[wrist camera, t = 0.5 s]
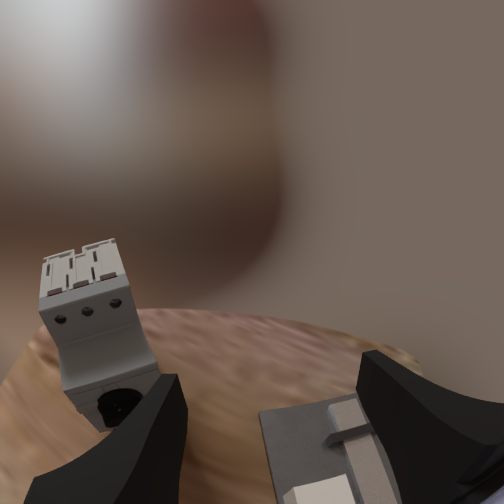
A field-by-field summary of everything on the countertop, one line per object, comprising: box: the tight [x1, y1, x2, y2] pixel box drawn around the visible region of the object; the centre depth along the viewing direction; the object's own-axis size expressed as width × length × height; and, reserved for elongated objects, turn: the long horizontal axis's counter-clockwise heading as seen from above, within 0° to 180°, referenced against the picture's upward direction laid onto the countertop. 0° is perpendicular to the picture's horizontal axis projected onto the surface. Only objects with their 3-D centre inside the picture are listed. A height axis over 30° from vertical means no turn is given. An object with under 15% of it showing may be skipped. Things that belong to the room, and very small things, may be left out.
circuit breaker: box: [39, 238, 161, 432], centre depth 22 cm, size 8×14×15 cm, turn 32°
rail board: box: [258, 393, 402, 504], centre depth 17 cm, size 20×12×2 cm, turn 9°
